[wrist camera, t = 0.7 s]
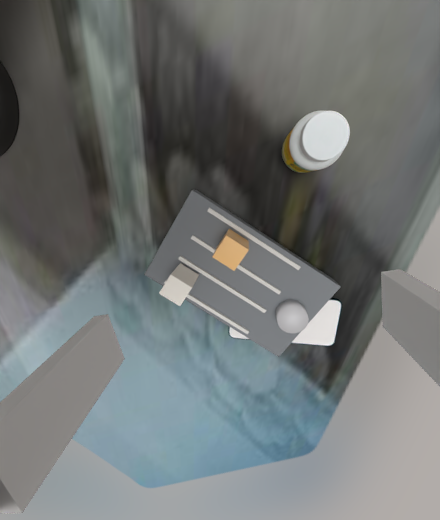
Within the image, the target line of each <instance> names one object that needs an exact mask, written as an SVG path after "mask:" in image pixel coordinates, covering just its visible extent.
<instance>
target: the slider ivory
mask: <svg viewBox="0 0 440 520" xmlns="http://www.w3.org/2000/svg"><path fill="white" fill-rule="evenodd" d="M198 276H199V274H197V273H195V272H194V271H192V270H191V269H189V268H187V267H186V266H184V265H183V264H181V263H180V264H179V265H178V266H177V268H176V269H175V270H174V271H173V272H172V273H171V275H170V276H169V278H168V280H167V281H166V283H165V285H164V286H163V288H162V290H161V291H160V293H159V294H161V295H162V296H164V297H166V298H167V299H169V300H170V301H172V302H174V303H175V304H177V305H179V306H181V304H182V303H183V301H184V300H185V298H186V297H187V295H188V293H189V292H190V290H191V289H192V287H193V285H194V283H195V281H196V280H197V278H198Z"/></svg>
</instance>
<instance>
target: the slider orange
mask: <svg viewBox="0 0 440 520" xmlns="http://www.w3.org/2000/svg"><path fill="white" fill-rule="evenodd" d="M248 251H249V241H248V240H246V239H245V238H243V237H242V236H240V235H238V234H237V233H235V232H234V231H232V230H231V229H228V231H227V232H226V234H225V236H224V237H223V239H222V240H221V242H220V243H219V245H218V246H217V248H216V250H215V252H214V254H213V256H212V257H213V258H214V259H216V260H218V261H219V262H221V263H222V264H224V265H225V266H227V267H229V268H230V269H232V270H233V271H235V269H236V268H237V266H238V265H239V264H240V262H241V261H242V259H243V258H244V256H245V255H246V254H247V252H248Z"/></svg>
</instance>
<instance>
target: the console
mask: <svg viewBox="0 0 440 520" xmlns="http://www.w3.org/2000/svg"><path fill="white" fill-rule="evenodd" d="M228 229H231V230H232V231H234V232H235V233H237V234H238V235H240V236H242V237H243V238H245V239H246V240H248V241H249V251H248V252H247V254H246V255H245V256H244V258H243V259H242V261H241V262H240V264H239V265H238V266H237V268H236V269H235V271H233V270H232V269H230V268H229V267H227V266H225V265H224V264H222V263H221V262H219V261H218V260H216V259H214V258H213V257H212V256H213V254H214V252H215V250H216V248H217V246H218V245H219V243H220V242H221V240H222V239H223V237H224V236H225V234H226V232H227V231H228ZM180 263H181V264H183V265H184V266H186V267H187V268H189V269H191V270H192V271H194V272H195V273H197V274H199V276H198V278H197V280H196V281H195V283H194V285H193V287H192V289H191V290H190V292H189V293H188V295H187V297H186V298H185V300H187V301H189V302H190V303H192V304H193V305H195V306H197V307H198V308H200V309H202V310H203V311H205V312H206V313H208V314H210V315H211V316H213V317H215V318H216V319H218V320H220V321H221V322H223V323H224V324H226V325H228V326H229V327H231V328H233V329H234V330H236V331H237V332H239V333H241V334H242V335H244V336H246V337H247V338H249V339H251V340H252V341H254V342H255V343H257V344H259V345H260V346H262V347H264V348H265V349H267V350H268V351H270V352H272V353H273V354H275V355H277V356H278V357H279V356H280V355H281V354H282V353H283V352H284V350H285V349H286V348H287V347H288V346H289V345H290V344H291V342H292V341H293V340H294V339H295V338H296V337H297V336H298V335H299V333H300V332H301V331H302V330H304V329H305V328H306V326H307V325H308V323H309V322H310V321H311V320H312V319H313V318H314V316H315V315H316V314H317V313H318V312H319V311H320V310H321V308H322V307H323V306H324V305H325V304H326V303H327V302H328V301H329V299H330V298H331V297H332V296H333V295H334V294H335V293H336V291H337V290H338V289H339V288H340V287H341V286H340V285H339V284H338V283H337V282H336V281H335V280H334V279H332V278H331V277H329V276H328V275H326V274H325V273H323V272H322V271H320V270H319V269H317V268H315V267H314V266H312V265H311V264H309V263H308V262H306V261H305V260H303V259H302V258H300V257H299V256H297V255H296V254H294V253H292V252H291V251H289V250H288V249H286V248H285V247H283V246H282V245H280V244H279V243H277V242H276V241H274V240H273V239H271V238H269V237H268V236H266V235H265V234H263V233H262V232H260V231H259V230H257V229H256V228H254V227H253V226H251V225H250V224H248V223H247V222H245V221H243V220H242V219H240V218H239V217H237V216H236V215H234V214H233V213H231V212H230V211H228V210H227V209H225V208H224V207H222V206H220V205H219V204H217V203H216V202H214V201H213V200H211V199H210V198H208V197H207V196H205V195H204V194H202V193H201V192H199V191H197V190H196V189H195V190H192V191H191V193H190V194H189V196H188V198H187V200H186V201H185V203H184V205H183V207H182V208H181V210H180V212H179V214H178V216H177V217H176V219H175V221H174V223H173V224H172V226H171V228H170V230H169V232H168V233H167V235H166V237H165V239H164V240H163V242H162V244H161V246H160V247H159V249H158V251H157V253H156V255H155V256H154V258H153V260H152V262H151V263H150V265H149V267H148V269H147V271H146V272H145V274H144V275H146V276H148V277H149V278H151V279H153V280H154V281H156V282H158V283H159V284H161V285H162V286H164V285H165V283H166V281H167V280H168V278H169V276H170V275H171V273H172V272H173V271H174V270H175V269H176V268H177V266H178V265H179V264H180Z"/></svg>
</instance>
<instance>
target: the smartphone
mask: <svg viewBox="0 0 440 520" xmlns="http://www.w3.org/2000/svg"><path fill="white" fill-rule="evenodd" d="M341 309H342V303H341V302H340V301H339V300H338V299H335V298H330V299H329V301H328V302H327V303H326V304H325V305H324V306H323V307H322V308H321V310H320V311H319V312H318V313H317V314H316V315H315V316H314V318H313V319H312V320H311V321H310V322H309V323H308V325H307V326H306V328H305V329H304V330H302V331H301V332H300V333H299V335H298V336H297V337H296V338H295V339H294V340H293V341H292V342H291V343H294V344H306V345H317V346H331V345H333V344H334V342H335V339H336V334H337V329H338V324H339V319H340V314H341ZM229 335H230V336H231V337H232V338H235V339H246V340H251V339H249V338H247V337H246V336H244V335H242V334H241V333H239V332H237V331H236V330H234V329H233V328H231V327H229Z"/></svg>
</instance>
